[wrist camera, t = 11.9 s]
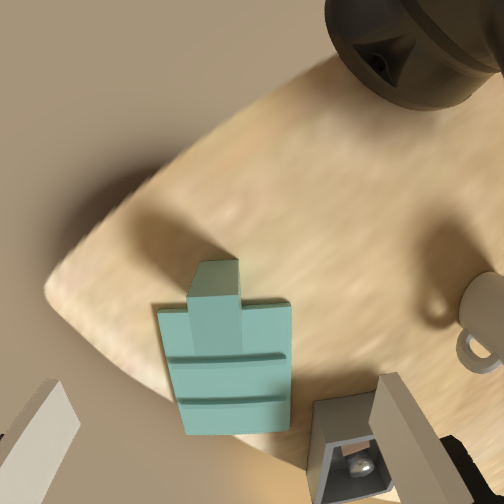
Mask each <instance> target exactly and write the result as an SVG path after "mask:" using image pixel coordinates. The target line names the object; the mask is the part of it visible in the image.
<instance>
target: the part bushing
mask: <svg viewBox="0 0 504 504" xmlns="http://www.w3.org/2000/svg"><path fill="white" fill-rule="evenodd" d="M345 459H346V462H347V466H348V469H349V473H350V476H351V477H354V478H358V477H363V476H365V475H367V474H369V473H371V472H372V471H373V470H374V464H373V461H372V458H371V456H370V453H369V450H368V448H366V449H363V450H360V451H358V452H355V453H352V454H349V455H346V456H345Z"/></svg>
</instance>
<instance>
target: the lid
mask: <svg viewBox="0 0 504 504" xmlns="http://www.w3.org/2000/svg"><path fill="white" fill-rule="evenodd" d="M186 300H187V307H188V308H182V309H159V310H158V312H157V316H158V321H159V326H160V331H161V336H162V341H163V346H164V350H165V355H166V359H167V364H168V368H169V372H170V377H171V381H172V385H173V389H174V393H175V397H176V400H177V404H178V408H179V412H180V415H181V418H182V422H183V425H184V429H185V433H186V435H235V434H255V433H270V432H281V431H290V401H291V343H292V306H291V304H290V303H276V304H262V305H246V306H242V303H241V289H240V274H239V260H238V259H233V260H216V261H200V263H199V266H198V268H197V271H196V274H195V276H194V279H193V281H192V284H191V286H190V289H189V292H188V294H187V297H186Z"/></svg>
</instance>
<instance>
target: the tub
mask: <svg viewBox="0 0 504 504" xmlns="http://www.w3.org/2000/svg"><path fill="white" fill-rule="evenodd" d="M375 394H376V391H374V392H369V393H363V394H358V395H352V396H346V397H340V398H334V399H327V400H320V401H314V403H313V414H312V424H311V434H310V443H309V452H308V460H307V468H306V476H307V481H308V486H309V491H310V496H311V501H312V504H342V503H346V502H351V501H355V500H360V499H363V498H368V497H372V496H375V495H379V494H382V493H386V492H389V491H391V490H392V488H393V486H394V483H393V480H392V478H391V475H390V473H389V470H388V468H387V466H386V463H385V461H384V458H383V456H382V453H381V451H380V449H379V446H378V444H377V441H376V439H375V437H374V434H373V432H372V430H371V427H370V425H369V423H368V422H369V418H370V415H371V411H372V407H373V402H374V398H375ZM368 440H369V444H370V447H368V450H369V453H370V456H371V458H372V461H373V464H374V470H373V471H372V472H371V473H369V474H367V475H365V476H363V477H358V478H354V477H351V476H350V473H349V469H348V466H347V462H346V459H345V456H343V454H342V451H341V448H340V446H344V445H349V444H354V443H359V442H363V441H368Z"/></svg>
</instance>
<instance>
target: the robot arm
mask: <svg viewBox="0 0 504 504" xmlns="http://www.w3.org/2000/svg"><path fill="white" fill-rule="evenodd" d="M325 22H326V26H327V30H328V33H329V36H330V38H331V41H332V43H333V45H334V47H335V49H336V50H337V52H338V54H339V55H340V57H341V58H342V60H343V61H344V63H345V64H346V65H347V66H348V68H349V69H350V70H351V71H352V72H353V73H354V75H355V76H356V77H357V78H358V79H359V80H360V81H362V82H363V83H364V84H365V85H366V86H367V87H369V88H370V89H371V90H372V91H374V92H375V93H377V94H378V95H380V96H381V97H383V98H384V99H386V100H388V101H390V102H392V103H394V104H396V105H399V106H401V107H404V108H408V109H411V110H416V111H435V110H440V109H445V108H449V107H453V106H456V105H458V104H460V103H462V102H464V101H465V100H466V99H468V98H469V97H470V96H471V95H472V93H474V92H475V91H476V90H477V89H478V88H479V87H481V86H482V85H483V84H484V83H485V82H486V81H487V80H488V79H489V78H490V77H491V76H493V75H494V74H495V73H498V72H501V73H502V75H503V77H504V0H326V1H325ZM368 423H369V425H370V427H371V430H372V432H373V434H374V437H375V439H376V441H377V444H378V446H379V449H380V451H381V453H382V456H383V458H384V461H385V463H386V466H387V468H388V470H389V473H390V475H391V478H392V480H393V483H394V485H395V488H396V490H397V493H398V496H399V498H400V501H401V503H402V504H504V496H501V495H495V494H494V493H493V492H492V491H491V489H490V488H489V486H488V484H487V483H486V481H485V479H484V478H483V476H482V474H481V473H480V471H479V469H478V468H477V466H476V465H475V463H473V460H472V458H471V457H470V455H468V452H467V450H466V449H465V447H464V446H463V444H462V442H460V441H459V440H458V439H456V438H455V437H453V436H452V435H449V436H446V437H443V438H440V439H439V438H438V437H437V435H436V433H435V432H434V430H433V428H432V427H431V425H430V423H429V422H428V420H427V419H426V417H425V415H424V414H423V412H422V411H421V409H420V407H419V406H418V404H417V403H416V401H415V399H414V398H413V396H412V395H411V393H410V392H409V390H408V388H407V387H406V385H405V384H404V382H403V381H402V379H401V378H400V376H399V375H398V373H397V372H394V373H389V374H384V375H380V376H379V381H378V385H377V390H376V394H375V398H374V402H373V407H372V411H371V415H370V418H369V422H368ZM80 425H81V424H80V422H79V420H78V418H77V416H76V414H75V412H74V410H73V408H72V406H71V404H70V402H69V400H68V398H67V396H66V393H65V391H64V389H63V387H62V384H61V382H60V380H55V379H49V378H47V379H46V380H45V381H44V382H43V384H42V385H41V386H40V387H39V389H38V390H37V391H36V393H35V394H34V395H33V397H32V398H31V399H30V401H29V402H28V403H27V404H26V406H25V407H24V409H23V410H22V411H21V413H20V414H19V415H18V417H17V418H16V420H15V421H14V422H13V424H12V425H11V426H10V428H9V429H8V431H7V432H6V433H5V434H1V435H0V504H41V503H42V501H43V499H44V497H45V494H46V492H47V490H48V488H49V486H50V484H51V482H52V480H53V478H54V476H55V474H56V472H57V469H58V467H59V465H60V463H61V461H62V460H63V457H64V456H65V454H66V452H67V449H68V448H69V446H70V444H71V442H72V440H73V438H74V436H75V434H76V432H77V431H78V429H79V427H80Z"/></svg>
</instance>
